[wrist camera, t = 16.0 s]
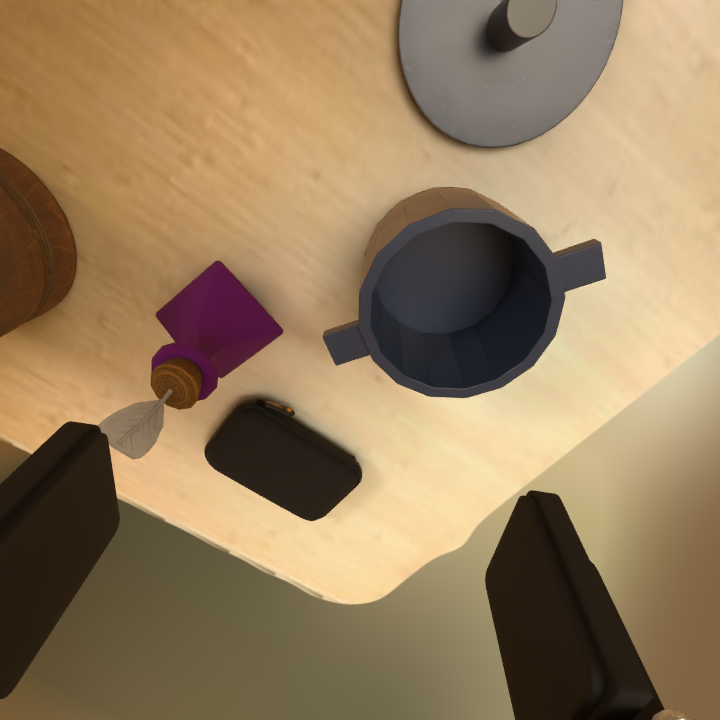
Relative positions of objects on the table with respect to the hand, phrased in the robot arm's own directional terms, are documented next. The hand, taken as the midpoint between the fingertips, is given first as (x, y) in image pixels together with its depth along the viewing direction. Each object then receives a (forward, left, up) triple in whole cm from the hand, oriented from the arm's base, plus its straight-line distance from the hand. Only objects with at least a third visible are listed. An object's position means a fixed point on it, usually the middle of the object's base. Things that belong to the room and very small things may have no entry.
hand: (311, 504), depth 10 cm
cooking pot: (+5, +5, -28) cm, 29 cm away
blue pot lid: (-9, +13, -28) cm, 32 cm away
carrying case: (+18, -15, -28) cm, 37 cm away
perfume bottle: (+2, -13, -28) cm, 31 cm away
